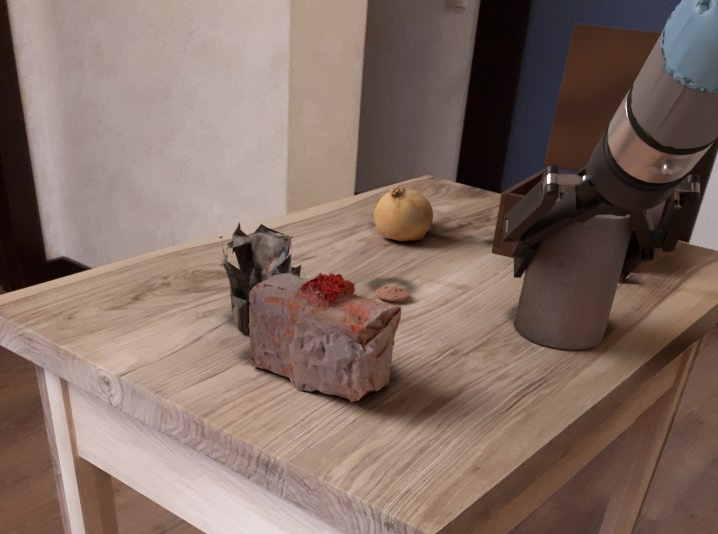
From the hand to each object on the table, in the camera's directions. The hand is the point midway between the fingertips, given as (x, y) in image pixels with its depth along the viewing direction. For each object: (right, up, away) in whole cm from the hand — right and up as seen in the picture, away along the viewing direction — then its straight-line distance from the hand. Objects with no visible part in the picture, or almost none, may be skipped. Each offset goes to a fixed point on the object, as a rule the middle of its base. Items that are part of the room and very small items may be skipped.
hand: (564, 268), depth 85 cm
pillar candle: (0, -7, +1) cm, 7 cm away
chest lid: (+13, +27, +20) cm, 36 cm away
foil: (-32, -5, +1) cm, 32 cm away
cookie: (-18, -2, +6) cm, 19 cm away
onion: (-16, +11, +24) cm, 31 cm away
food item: (-26, -14, -11) cm, 31 cm away
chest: (+8, +9, +24) cm, 27 cm away
